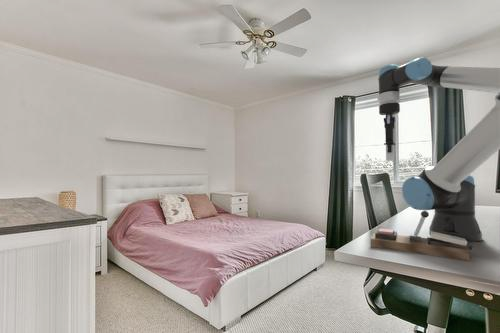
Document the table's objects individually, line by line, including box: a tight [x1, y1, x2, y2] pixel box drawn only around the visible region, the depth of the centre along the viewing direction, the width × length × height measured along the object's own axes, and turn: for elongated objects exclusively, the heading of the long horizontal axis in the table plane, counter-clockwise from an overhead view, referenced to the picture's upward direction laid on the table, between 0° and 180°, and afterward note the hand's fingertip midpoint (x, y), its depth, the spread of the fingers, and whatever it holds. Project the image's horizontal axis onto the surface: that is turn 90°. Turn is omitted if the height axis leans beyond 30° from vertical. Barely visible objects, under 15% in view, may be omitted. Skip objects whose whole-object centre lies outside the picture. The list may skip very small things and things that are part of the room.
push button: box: [378, 228, 394, 235], centre depth 82 cm, size 4×4×2 cm
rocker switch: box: [430, 231, 468, 246], centre depth 73 cm, size 8×4×1 cm, turn 57°
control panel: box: [370, 229, 473, 262], centre depth 78 cm, size 25×10×4 cm, turn 57°
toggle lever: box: [413, 210, 430, 237], centre depth 77 cm, size 2×2×8 cm
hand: (389, 160), depth 104 cm, fingers closed
